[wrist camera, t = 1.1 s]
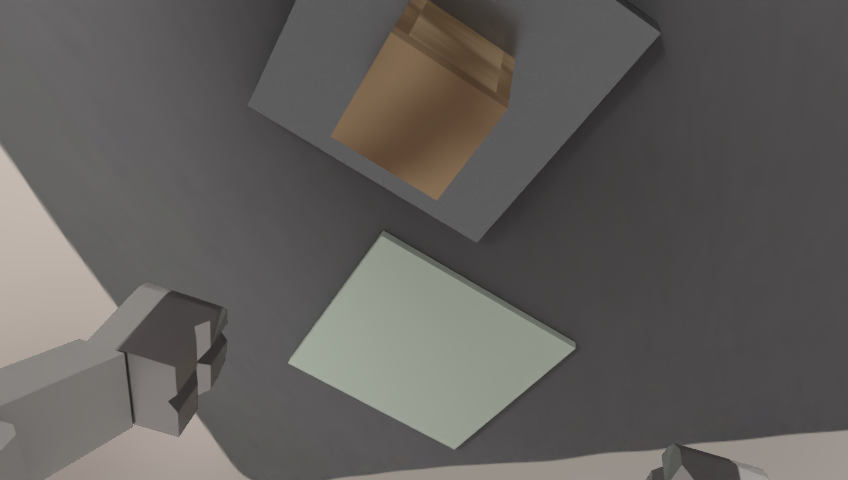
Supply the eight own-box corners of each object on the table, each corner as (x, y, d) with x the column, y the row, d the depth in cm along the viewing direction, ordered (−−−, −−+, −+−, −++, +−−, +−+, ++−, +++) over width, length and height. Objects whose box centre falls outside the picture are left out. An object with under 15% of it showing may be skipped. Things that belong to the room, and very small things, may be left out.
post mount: (257, 94, 38) (214, 142, 34) (383, -176, 29) (349, -164, 24) (479, 229, 42) (468, 289, 37) (657, 23, 32) (674, 68, 28)
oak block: (361, 85, 35) (330, 136, 31) (415, -9, 32) (390, 32, 27) (452, 143, 36) (436, 200, 32) (515, 58, 33) (507, 108, 28)
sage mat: (290, 357, 52) (287, 363, 52) (383, 230, 43) (381, 235, 42) (455, 443, 55) (454, 449, 55) (575, 342, 46) (575, 348, 46)
